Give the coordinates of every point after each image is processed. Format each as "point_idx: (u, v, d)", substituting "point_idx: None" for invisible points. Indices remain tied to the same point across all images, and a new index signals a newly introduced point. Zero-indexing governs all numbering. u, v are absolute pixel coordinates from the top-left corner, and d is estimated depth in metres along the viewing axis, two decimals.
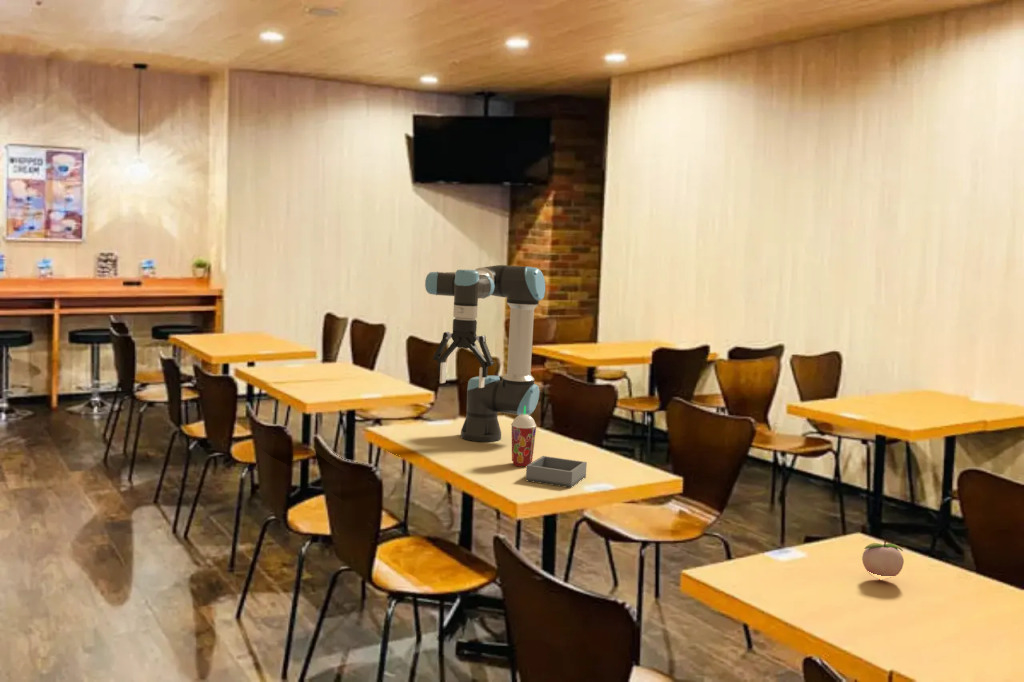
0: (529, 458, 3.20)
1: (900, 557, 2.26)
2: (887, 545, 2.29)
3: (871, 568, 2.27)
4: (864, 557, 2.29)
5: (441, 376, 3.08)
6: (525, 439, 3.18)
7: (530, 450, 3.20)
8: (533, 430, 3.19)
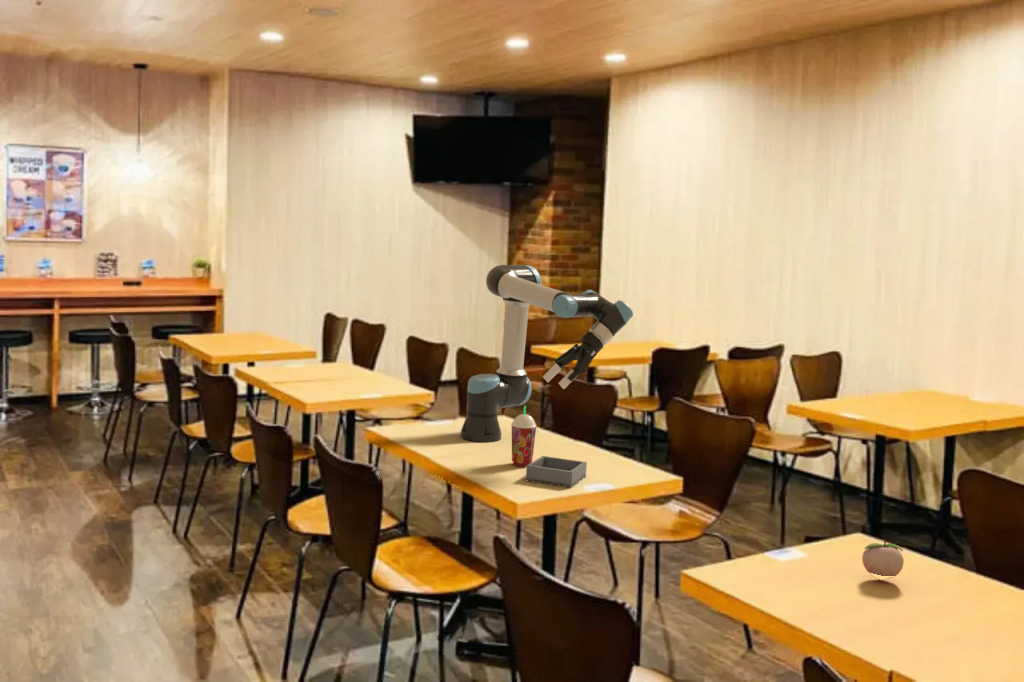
0: (529, 458, 3.20)
1: (900, 557, 2.26)
2: (887, 545, 2.29)
3: (871, 568, 2.27)
4: (864, 557, 2.29)
5: None
6: (525, 439, 3.18)
7: (530, 450, 3.20)
8: (533, 430, 3.19)
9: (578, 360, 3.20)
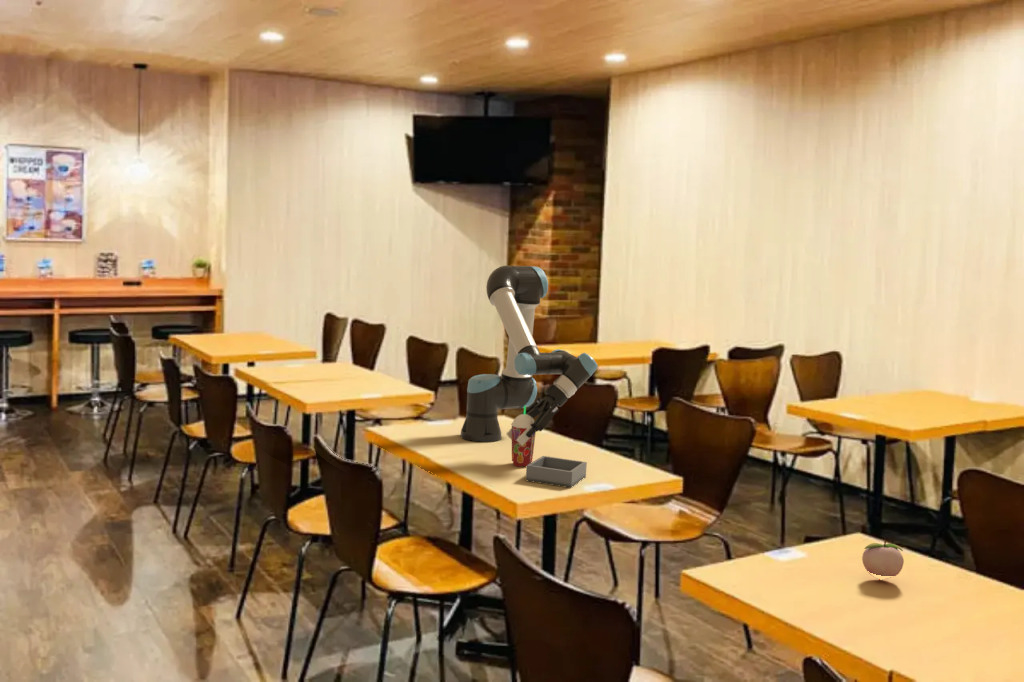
0: (529, 458, 3.20)
1: (900, 557, 2.26)
2: (887, 545, 2.29)
3: (871, 568, 2.27)
4: (864, 557, 2.29)
5: None
6: None
7: (530, 450, 3.20)
8: None
9: (539, 415, 3.19)
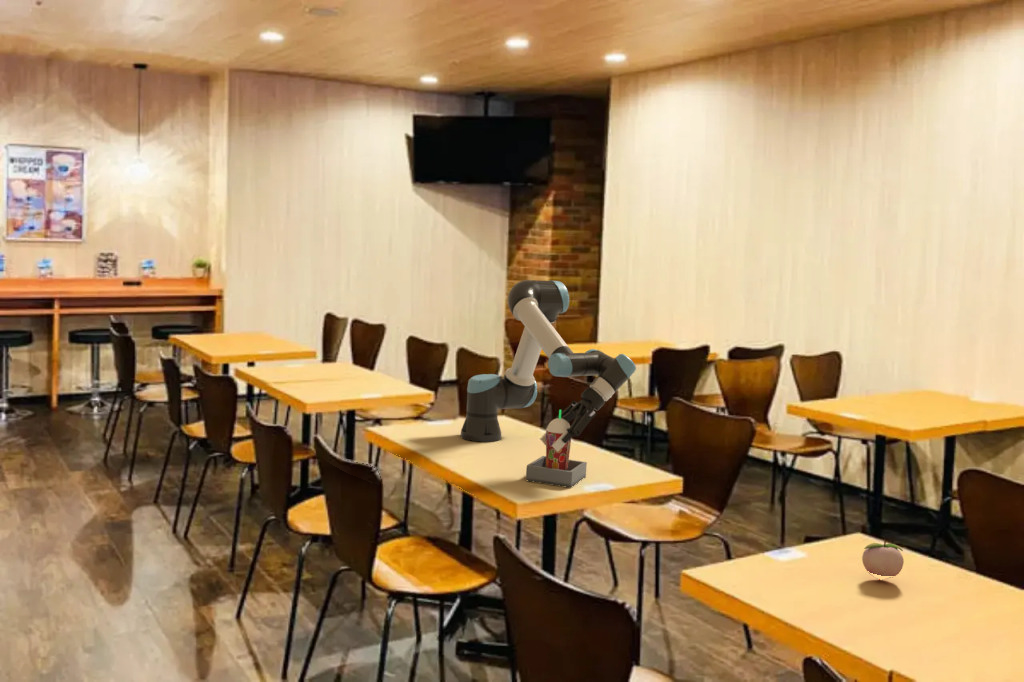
0: (565, 465, 3.04)
1: (900, 557, 2.26)
2: (887, 545, 2.29)
3: (871, 568, 2.27)
4: (864, 557, 2.29)
5: None
6: None
7: (566, 456, 3.04)
8: None
9: (575, 420, 3.03)
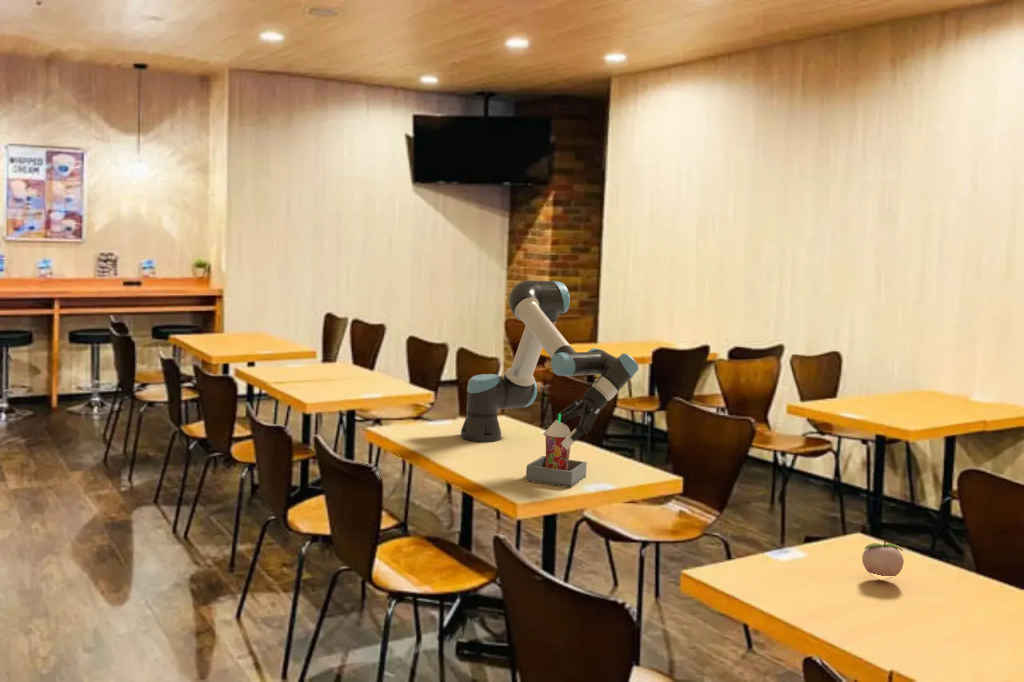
0: (564, 469, 3.04)
1: (900, 557, 2.26)
2: (887, 545, 2.29)
3: (871, 568, 2.27)
4: (864, 557, 2.29)
5: None
6: (560, 449, 3.02)
7: (565, 460, 3.04)
8: None
9: (581, 418, 3.02)
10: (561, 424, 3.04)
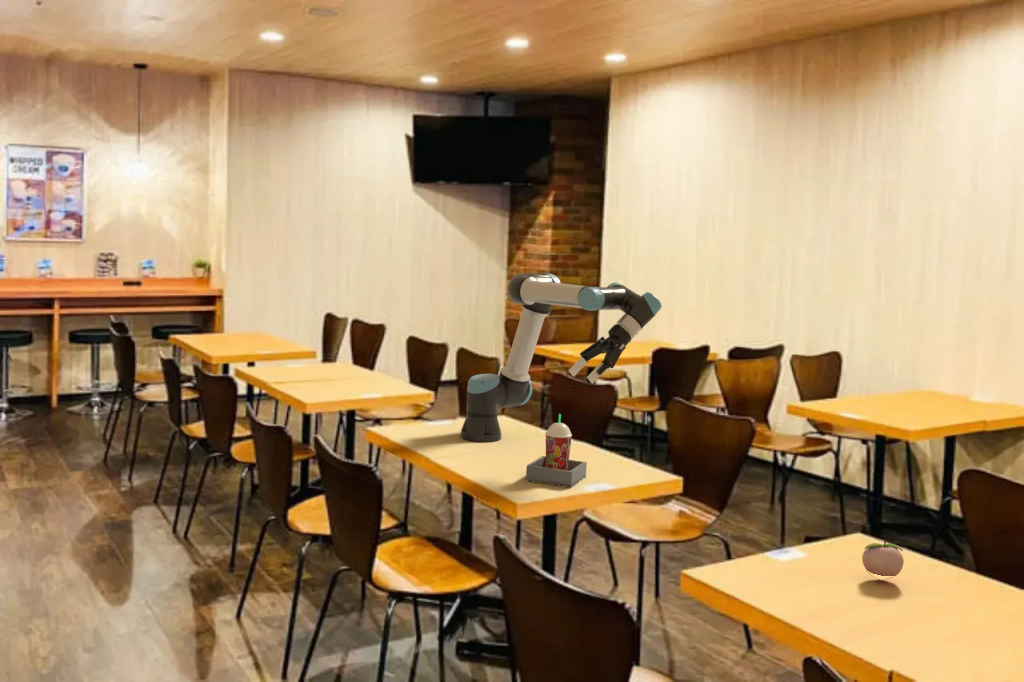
0: (564, 469, 3.04)
1: (900, 557, 2.26)
2: (887, 545, 2.29)
3: (871, 568, 2.27)
4: (864, 557, 2.29)
5: None
6: (560, 449, 3.02)
7: (565, 460, 3.04)
8: (569, 439, 3.03)
9: (607, 353, 3.10)
10: (561, 424, 3.04)
